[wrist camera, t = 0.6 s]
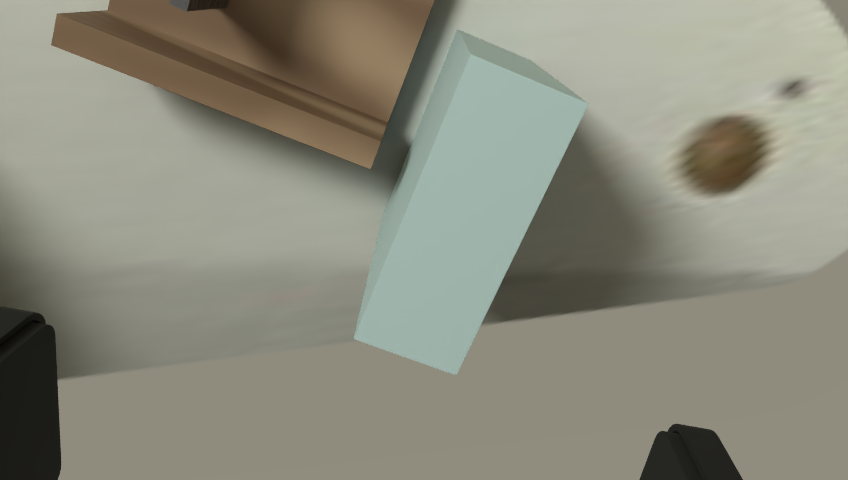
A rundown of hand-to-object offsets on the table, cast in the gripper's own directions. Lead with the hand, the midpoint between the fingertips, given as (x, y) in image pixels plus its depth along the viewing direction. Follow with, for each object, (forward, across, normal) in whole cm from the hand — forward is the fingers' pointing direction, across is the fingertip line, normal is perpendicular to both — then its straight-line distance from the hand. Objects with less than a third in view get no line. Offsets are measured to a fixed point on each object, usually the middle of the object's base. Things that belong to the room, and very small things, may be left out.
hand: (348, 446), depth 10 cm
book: (+30, -2, +2) cm, 30 cm away
